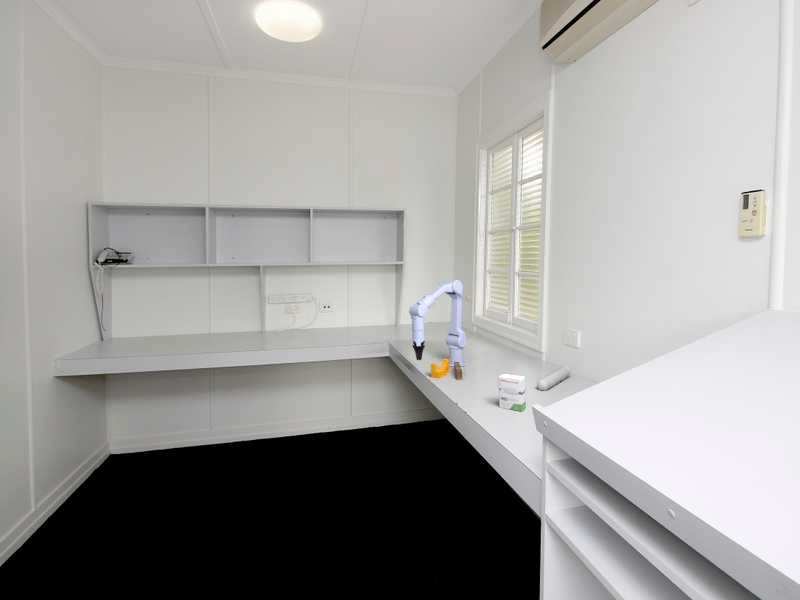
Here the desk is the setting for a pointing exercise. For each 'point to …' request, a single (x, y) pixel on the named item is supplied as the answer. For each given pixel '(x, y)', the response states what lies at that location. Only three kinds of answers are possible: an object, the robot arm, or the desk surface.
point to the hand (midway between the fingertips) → (419, 357)
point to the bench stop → (458, 370)
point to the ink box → (512, 392)
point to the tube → (553, 378)
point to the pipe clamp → (440, 369)
